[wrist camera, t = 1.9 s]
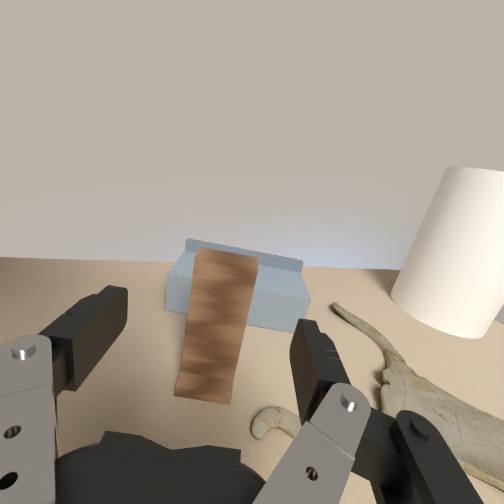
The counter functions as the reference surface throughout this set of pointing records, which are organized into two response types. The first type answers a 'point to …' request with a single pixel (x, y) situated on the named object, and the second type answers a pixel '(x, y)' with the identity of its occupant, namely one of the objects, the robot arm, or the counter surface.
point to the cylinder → (457, 256)
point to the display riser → (265, 290)
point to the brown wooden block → (215, 323)
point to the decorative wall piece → (419, 412)
